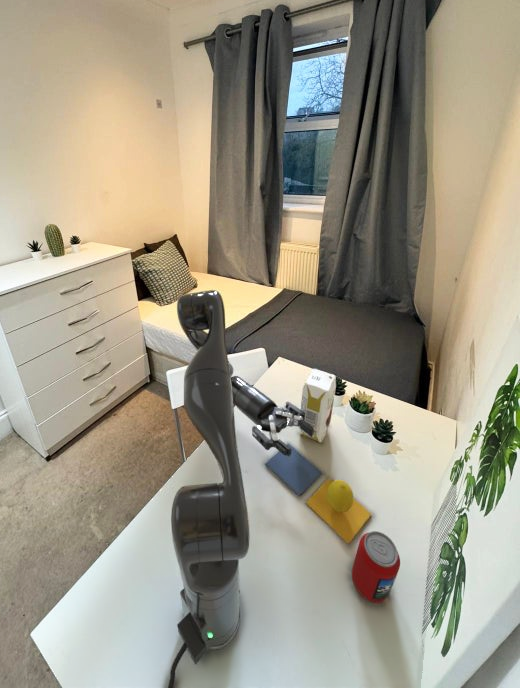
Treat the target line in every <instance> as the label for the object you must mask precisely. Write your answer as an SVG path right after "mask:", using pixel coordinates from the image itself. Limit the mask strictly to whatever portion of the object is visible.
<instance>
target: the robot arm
mask: <svg viewBox="0 0 520 688" xmlns="http://www.w3.org/2000/svg"><path fill="white" fill-rule="evenodd" d="M225 310H226V309H225V303H224V299H223V296H222V295H221V293H220V292H219V291H218V290H214V289H212V290H211V289H210V290H203V291H196V292H189V293H185V294H182V295H180V296H179V297H178V298H177V301H176V313H177V320H178V322H179V325H180V327H181V330H182V331H183V332H184V335H185V336H186V337H187V339H188V341H189V342H190V343H191V345H192V346H193V348H194V349H195V351H196V352H195V354H194V355H193V357H192V358H191V360H190V361H189V363H188V365H187V367H186V369H185V371H184V376H183V408H184V410H185V413H186V415H187V417H188V419H189V420H190V422H191V423H192V425H193V426H194V428H195V429H196V431H197V433H199V435H200V436H201V438H203V440H204V442H205V443H206V444H207V446H208V448H209V450H210V452H211V453H212V455H213V457H214V459H215V461H216V463H217V466H218V469H219V472H220V475H221V478H222V482H213V483H201V484H200V483H199V484H189V485H183V486H181V487H179V489H178V490H177V491H176V494H175V495H174V498H173V500H172V506H171V514H170V526H171V527H170V528H171V538H172V544H173V548H174V554H175V556H176V561H177V564H178V568H179V573H180V576H181V581H182V586H183V588H182V589H181V590H180V592H179V595H180V600H181V601H180V602H181V607H182V614H183V618H182V619H181V620H180V621H179V622H178V623H177V624H176V625H177V627H176V628H177V632H178V634H179V636H180V638H181V640H182V642H183V644H182V646H181V647H180V649H179V650H178V653H177V654H176V655H175V658H174V660H173V662H172V665H171V668H170V673H169V678H170V679H169V682H168V685H167V688H174V685H175V681H176V670H177V667H178V666H179V663H180V661H181V659H182V657H183V656H184V654H185V652H186V651H188V653H189V656H190V658H191V659H192V661H193V663H194V665H197V664H198V663H199V662H200V660H201V659H202V658H203V657H204V656H205V655H206V654H207V653H208V652H209V651H217V650H221V649H223V648H225V647H226V646H228V645H229V644H230V643H231V642H232V641H233V640H234V637H235V636H236V635H237V632H238V629H239V626H240V621H241V606H240V592H241V590H240V560H242V559H244V558H245V557H246V556H247V554H248V552H249V548H250V540H251V539H250V536H251V535H250V521H249V520H250V519H249V512H248V505H247V499H246V491H245V486H244V481H243V480H244V479H243V474H242V469H241V461H240V455H239V449H238V442H237V434H236V433H237V432H236V422H235V407H234V405H235V406H236V408H237V409H238V410H239V411H240V412H241V413H242V414H243V415H245V416H246V417H247V418H248V419H249V421H251V422H253V423H254V425H253V426H252V427H251V428H252V429H251V436H252V437H253V438H254V440H256V441H257V442H258V443H259V444H260V445H261V446H262V447H263V448H264V450H266V451H270V450H271V449H272V448H274V449H276V450H277V451H278V452H279V451H280V452H281V453H282V454H283V455H285V456H286V455H287V456H288V457H289V456H290V455H291V448H289V447H288V446H287V444H286V443H285V442H284V441H283V440H281V438H278V435H277V434H279V433H281V432H282V430H284V429H286V428H287V427H291V428H292V427H300V429H302V430H303V431H304V432H306V433H307V434H308V435H309V436H311V437H312V436H313V435H314V428H313V427H312V426H311V425H310V424H308V423H307V422H306V421H304V420H305V412H304V411H302V410H301V408H299V407H297V405H294V404H293V403H291V402H290V401H286V402H285V404H284V406H283V407H281V406H278V404H276V402H275V401H274V400H272V399H271V398H270V397H269V396H267V395H266V394H265V393H263V392H261V391H260V390H259V389H258V388H256V387H255V386H253V385H252V384H250V383H249V382H247V381H246V380H244V379H243V378H242V377H240V376H239V375H234V371H235V369H234V366H233V365H232V363H231V362H230V361H229V356H228V349H227V348H228V347H227V338H226V337H227V335H226V311H225ZM207 331H208V332H207ZM288 419H289V420H288ZM300 429H299V430H300ZM263 432H267V433H268V434H269V437H267V435H266V434H264V433H263Z"/></svg>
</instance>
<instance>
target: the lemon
mask: <svg viewBox="0 0 520 688" xmlns="http://www.w3.org/2000/svg"><path fill="white" fill-rule="evenodd" d="M332 481H333V482H332V483H331V484H330V485H329V487H328V490H327V499H328V502H329V504H330V506H331V507H332V508H333V509H334V510H336V511H338V512H346V511H348V510H349V509H350V508H351V506H352V504H353V499H354V492H353V489H352V487H351V485H350V484H348V483H347V482H346V481H344V480H342V479H335V480H332Z"/></svg>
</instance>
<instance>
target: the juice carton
mask: <svg viewBox="0 0 520 688" xmlns="http://www.w3.org/2000/svg"><path fill="white" fill-rule="evenodd" d="M336 379H337V377H336V375H335V374H332V373H329V372H326V371H323V370H320V369H318V368H312V369H311V371H310V373H309V375H308V377H307V379H306V381H305V383H304V384H303V387H302V392H301V401H300V409H301V410H302V411H304V412H305V420H304V421H306V422H307V423H308V424H310V425H311V426H312V427H313V428H314V435H313V436H312V437H311V436H309V435H308V434H307V433H306V432H304V431H303V430H302V429H300V427H299V434H300V435H302V436H303V437H306V438H309V439H311V440H314V441H316V442H318V443H322V442H323V440H324V439H325V436H326V434H327V432H328V428H329V426H330V424H331V420H332V415H333V409H334V402H335V395H336V388H337V381H336Z"/></svg>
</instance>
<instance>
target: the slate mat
mask: <svg viewBox="0 0 520 688" xmlns="http://www.w3.org/2000/svg"><path fill="white" fill-rule="evenodd" d="M286 445H287V446H288V447H289V448H291V455H290V456H289V457H288V456H287V455H286V456H285V455H283V454H282V453H281V452H280V451H279V450H278V452H276V453H275V454H274V455H272V457H271V458H270V459H268V460H267V461H266V462H265V465H266V467H268V468H269V469H270V470H271V471H272V472H273V473H274V474H275V475H276V476H277V477H278V478H280V480H281V481H282V482H283V483H284V484H285V485H287V487H289V489H291V491H293V492H294V493H295V494H296V495H297V497H300V496H301V495H302V494H303V493H304V492H306V490H307V489H308V488H310V486H311V485H312V484H313V483H314V482H315V481H316V480H317V479H318V478H320V476H321V475H322V474H323V471H321V470H320V469H319V468H318V467H317V466H316V465H314V464H313V463H312V462H311V461H310V460H308V459H307V458H306V457H305V456H304V455H302V453H300V452H299V451H298V450H297V449H296V448H294V447H293V446H292V445H291V444H290V443H287V444H286Z"/></svg>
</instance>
